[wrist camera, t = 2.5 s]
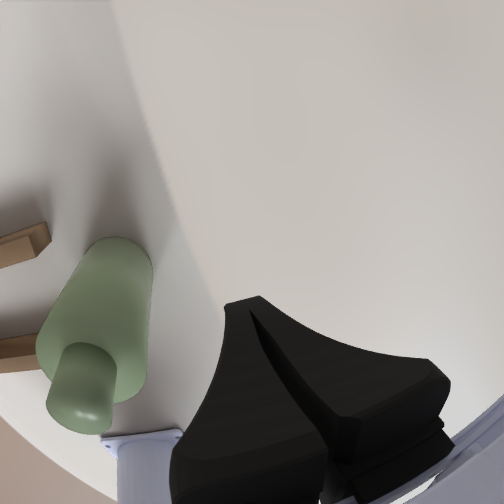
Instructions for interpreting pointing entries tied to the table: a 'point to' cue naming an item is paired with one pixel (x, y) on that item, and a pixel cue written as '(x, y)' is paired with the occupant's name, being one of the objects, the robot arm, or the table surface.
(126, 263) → the bottle
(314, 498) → the robot arm
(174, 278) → the table surface
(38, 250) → the u rest
